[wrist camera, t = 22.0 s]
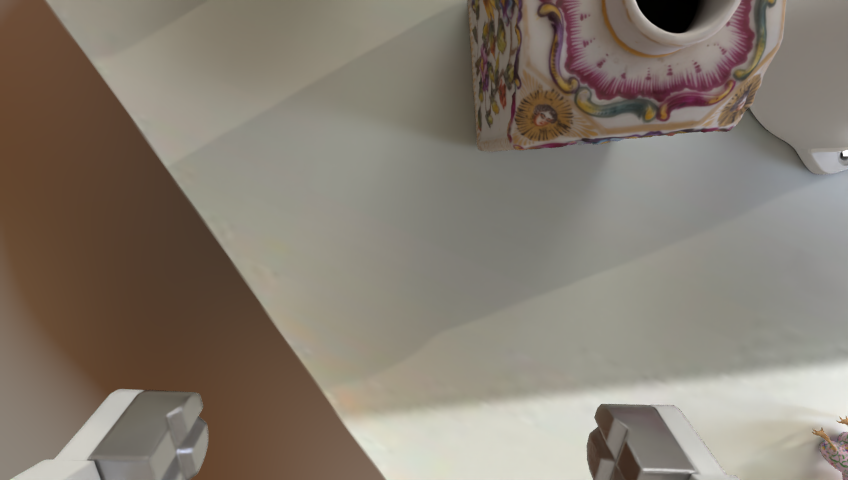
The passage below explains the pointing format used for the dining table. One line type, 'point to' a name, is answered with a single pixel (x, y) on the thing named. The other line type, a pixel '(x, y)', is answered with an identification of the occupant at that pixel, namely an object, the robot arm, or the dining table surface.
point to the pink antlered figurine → (836, 450)
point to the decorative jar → (615, 67)
